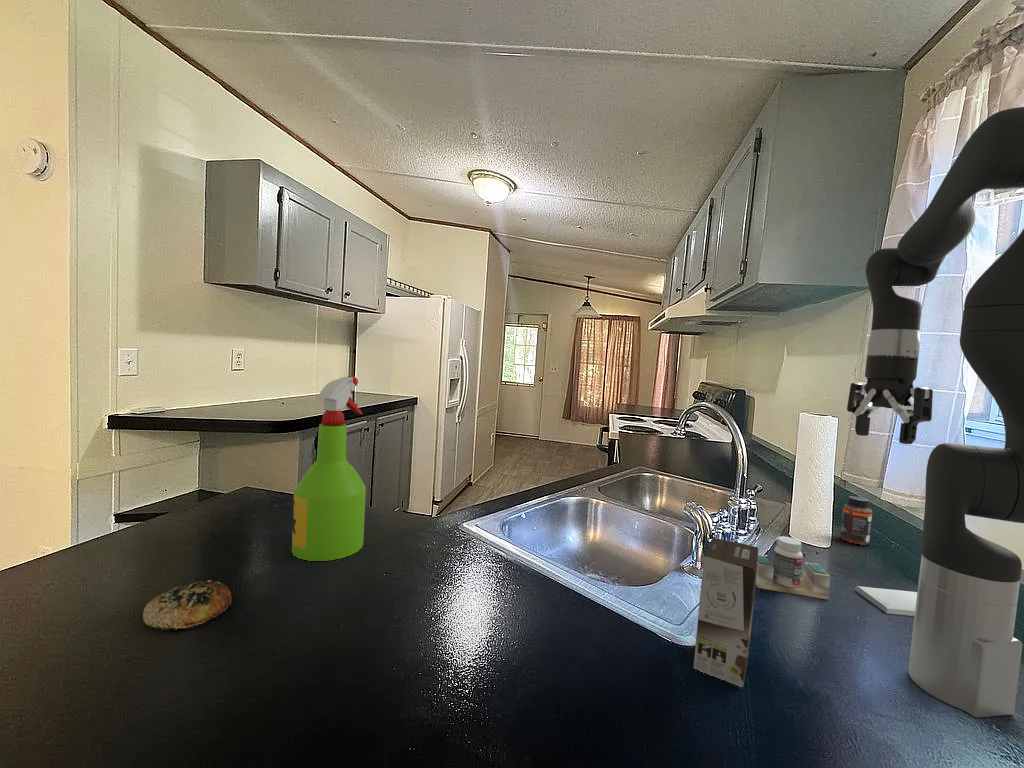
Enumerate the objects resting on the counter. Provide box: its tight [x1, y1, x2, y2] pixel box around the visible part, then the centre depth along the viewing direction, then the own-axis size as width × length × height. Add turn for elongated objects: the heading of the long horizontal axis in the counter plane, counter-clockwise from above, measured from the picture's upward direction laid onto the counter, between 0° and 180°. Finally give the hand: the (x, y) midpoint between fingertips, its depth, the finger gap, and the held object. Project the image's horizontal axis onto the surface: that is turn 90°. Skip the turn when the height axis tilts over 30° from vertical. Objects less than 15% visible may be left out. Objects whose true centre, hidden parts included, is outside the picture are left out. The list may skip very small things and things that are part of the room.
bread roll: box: [142, 579, 233, 630], centre depth 67 cm, size 11×11×5 cm
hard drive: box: [854, 585, 917, 617], centre depth 84 cm, size 2×8×12 cm
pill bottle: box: [772, 535, 804, 588], centre depth 88 cm, size 5×5×8 cm
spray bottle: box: [291, 375, 367, 562], centre depth 94 cm, size 14×18×35 cm
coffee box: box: [692, 537, 759, 688], centre depth 63 cm, size 9×6×16 cm
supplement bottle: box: [840, 495, 873, 546], centre depth 115 cm, size 6×6×11 cm
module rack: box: [755, 554, 831, 601], centre depth 88 cm, size 12×6×4 cm, turn 76°
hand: (883, 439), depth 86 cm, fingers open, 8 cm apart
